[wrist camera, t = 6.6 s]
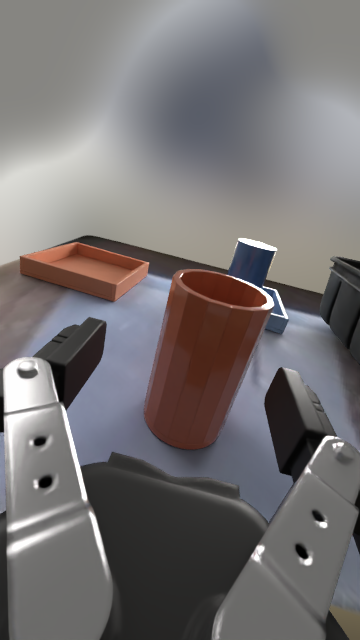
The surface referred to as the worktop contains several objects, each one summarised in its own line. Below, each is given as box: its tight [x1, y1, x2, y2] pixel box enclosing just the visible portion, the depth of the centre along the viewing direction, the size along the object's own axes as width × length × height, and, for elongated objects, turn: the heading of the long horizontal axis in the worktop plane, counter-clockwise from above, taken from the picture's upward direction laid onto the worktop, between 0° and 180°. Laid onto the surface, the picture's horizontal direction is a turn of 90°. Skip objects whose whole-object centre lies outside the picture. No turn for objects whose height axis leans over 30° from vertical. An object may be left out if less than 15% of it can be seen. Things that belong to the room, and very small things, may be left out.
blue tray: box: [262, 286, 289, 334], centre depth 47 cm, size 14×14×2 cm
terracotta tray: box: [20, 242, 149, 302], centre depth 43 cm, size 14×14×2 cm
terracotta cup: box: [144, 269, 274, 450], centre depth 19 cm, size 6×6×11 cm
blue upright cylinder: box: [227, 239, 277, 289], centre depth 45 cm, size 6×6×10 cm
